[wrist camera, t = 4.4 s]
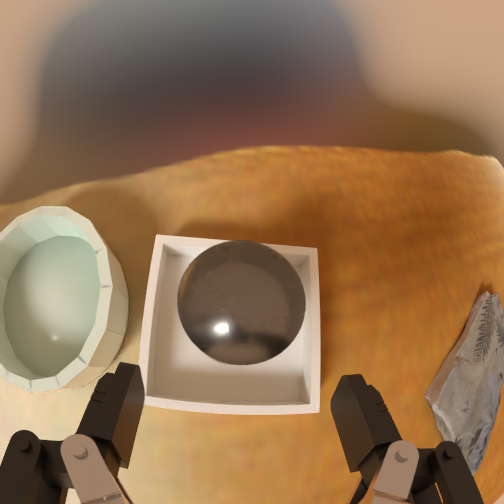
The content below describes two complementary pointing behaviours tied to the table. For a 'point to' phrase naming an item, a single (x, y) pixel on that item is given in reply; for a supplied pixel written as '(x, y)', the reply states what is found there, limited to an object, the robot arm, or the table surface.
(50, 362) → the bowl
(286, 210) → the table surface
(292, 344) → the parts tray
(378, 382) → the table surface
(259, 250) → the glass jar with lid
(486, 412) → the fossil rock
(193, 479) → the table surface
